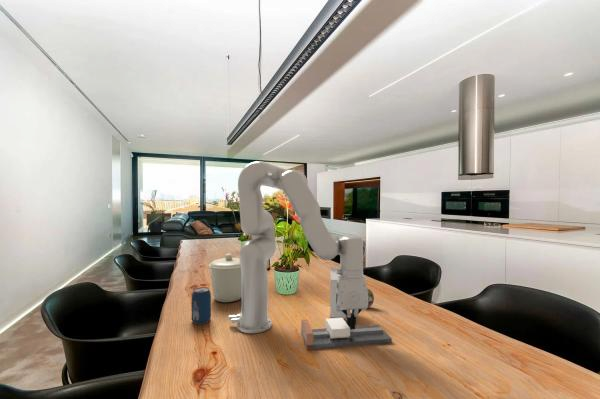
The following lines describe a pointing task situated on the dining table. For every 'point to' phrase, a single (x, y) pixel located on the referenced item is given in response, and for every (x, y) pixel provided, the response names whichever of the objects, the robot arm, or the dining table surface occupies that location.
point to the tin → (370, 298)
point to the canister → (226, 278)
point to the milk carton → (334, 294)
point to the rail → (356, 338)
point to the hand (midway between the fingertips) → (351, 327)
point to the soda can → (201, 305)
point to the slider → (337, 328)
